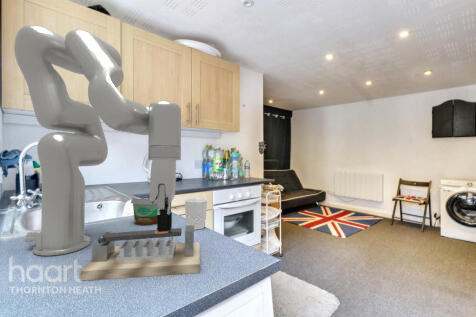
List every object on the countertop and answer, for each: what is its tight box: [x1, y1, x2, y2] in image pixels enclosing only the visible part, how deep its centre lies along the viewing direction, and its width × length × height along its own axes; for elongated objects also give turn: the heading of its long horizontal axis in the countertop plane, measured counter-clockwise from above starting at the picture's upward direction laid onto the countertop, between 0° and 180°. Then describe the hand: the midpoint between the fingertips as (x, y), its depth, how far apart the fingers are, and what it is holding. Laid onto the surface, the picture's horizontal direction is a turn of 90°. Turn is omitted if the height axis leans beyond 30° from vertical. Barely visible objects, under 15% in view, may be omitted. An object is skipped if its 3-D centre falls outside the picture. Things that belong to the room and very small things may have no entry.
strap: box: [97, 227, 183, 243], centre depth 55 cm, size 18×4×2 cm, turn 100°
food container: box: [130, 197, 158, 226], centre depth 87 cm, size 12×6×10 cm, turn 106°
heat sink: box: [91, 225, 195, 265], centre depth 55 cm, size 22×9×6 cm, turn 100°
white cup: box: [184, 197, 208, 231], centre depth 84 cm, size 8×8×10 cm
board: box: [79, 241, 201, 281], centre depth 55 cm, size 24×13×2 cm, turn 100°
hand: (164, 229), depth 56 cm, fingers closed
